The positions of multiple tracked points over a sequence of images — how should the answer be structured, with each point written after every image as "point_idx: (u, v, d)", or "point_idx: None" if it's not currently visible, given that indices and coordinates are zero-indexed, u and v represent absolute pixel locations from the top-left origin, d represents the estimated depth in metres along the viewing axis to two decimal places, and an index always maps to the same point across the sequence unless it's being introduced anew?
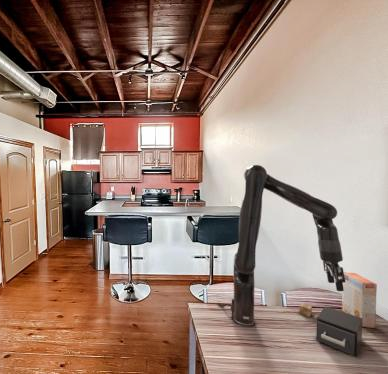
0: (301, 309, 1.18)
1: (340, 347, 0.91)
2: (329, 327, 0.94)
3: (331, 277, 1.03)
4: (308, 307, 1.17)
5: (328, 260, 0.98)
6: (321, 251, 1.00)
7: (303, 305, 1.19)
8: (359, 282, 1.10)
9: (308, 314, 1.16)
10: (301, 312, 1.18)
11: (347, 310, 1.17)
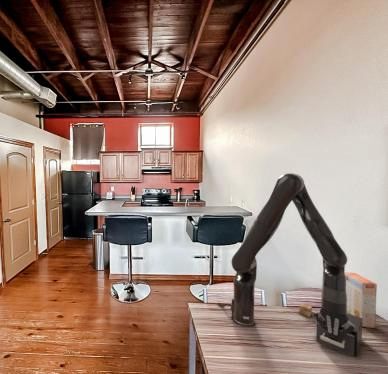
0: (301, 309, 1.18)
1: (339, 349, 0.91)
2: None
3: None
4: (308, 307, 1.17)
5: (343, 313, 0.86)
6: (336, 304, 0.87)
7: (303, 305, 1.19)
8: (359, 282, 1.10)
9: (308, 314, 1.16)
10: (301, 312, 1.18)
11: (347, 310, 1.17)
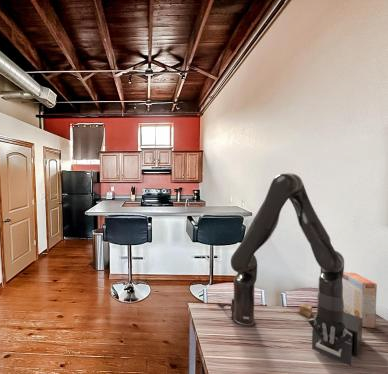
0: (301, 309, 1.18)
1: (336, 357, 0.86)
2: None
3: None
4: (308, 307, 1.17)
5: (339, 321, 0.82)
6: (332, 311, 0.83)
7: (303, 305, 1.19)
8: (359, 282, 1.10)
9: (308, 314, 1.16)
10: (301, 312, 1.18)
11: (347, 310, 1.17)
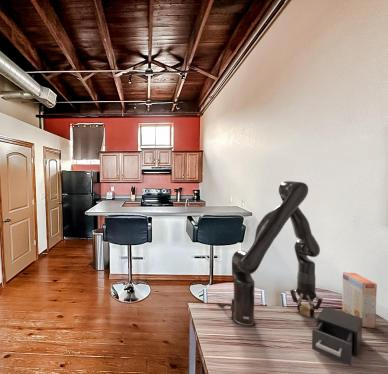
0: (301, 309, 1.18)
1: (336, 357, 0.86)
2: (324, 335, 0.89)
3: None
4: (308, 307, 1.17)
5: None
6: None
7: (303, 305, 1.19)
8: (359, 282, 1.10)
9: (308, 314, 1.16)
10: (301, 312, 1.18)
11: (347, 310, 1.17)
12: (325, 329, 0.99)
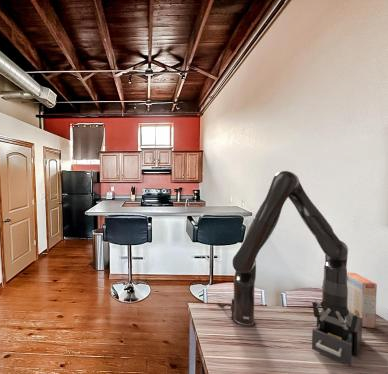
0: None
1: (336, 357, 0.86)
2: (324, 335, 0.89)
3: None
4: None
5: None
6: None
7: None
8: (359, 282, 1.10)
9: None
10: None
11: None
12: (325, 329, 0.99)
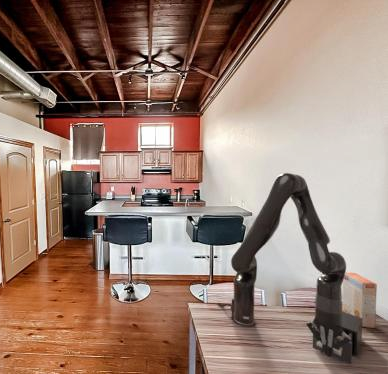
0: None
1: (336, 355, 0.87)
2: None
3: None
4: None
5: None
6: None
7: None
8: (359, 282, 1.10)
9: None
10: None
11: (347, 310, 1.17)
12: None
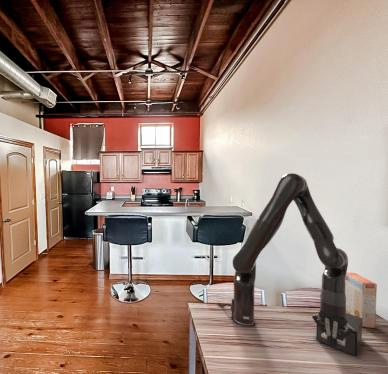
0: None
1: (340, 346, 0.92)
2: None
3: None
4: None
5: None
6: None
7: None
8: (359, 282, 1.10)
9: None
10: None
11: (347, 310, 1.17)
12: None
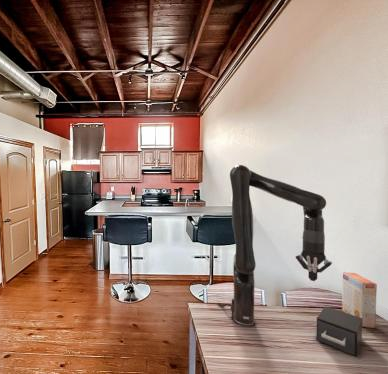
0: None
1: (340, 346, 0.92)
2: (329, 327, 0.94)
3: None
4: None
5: None
6: None
7: None
8: (359, 282, 1.10)
9: None
10: None
11: (347, 310, 1.17)
12: None
